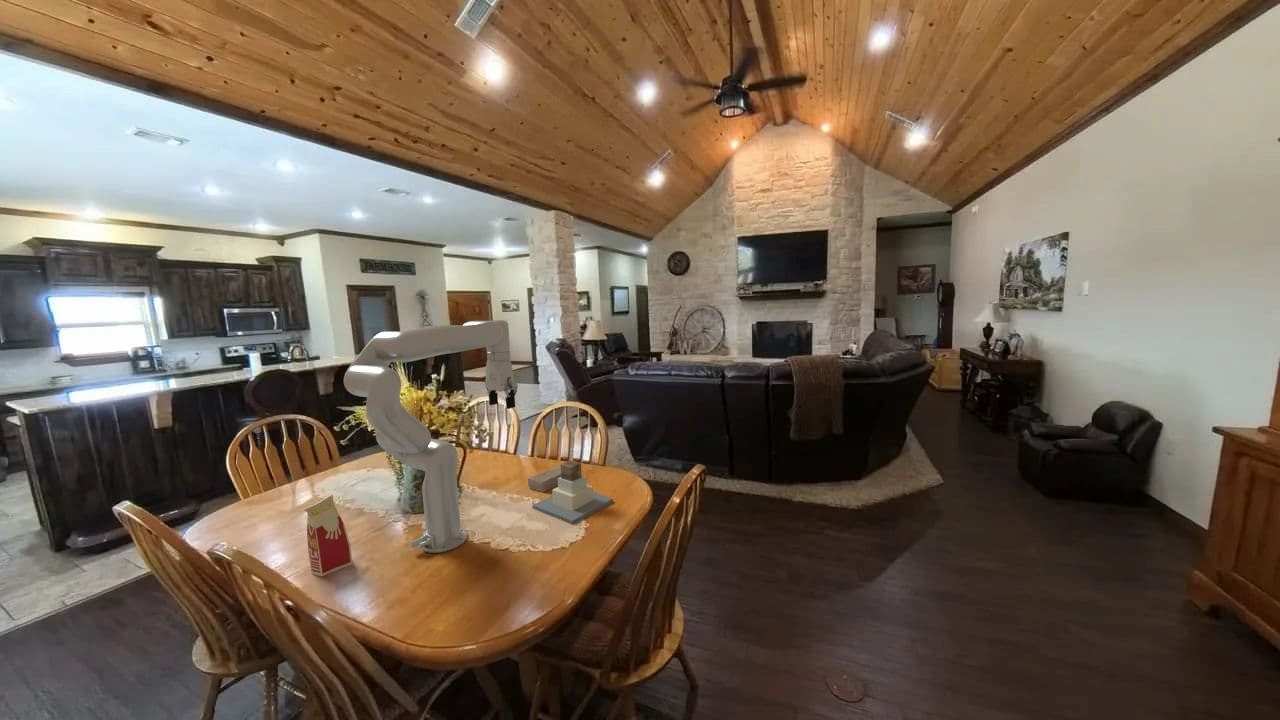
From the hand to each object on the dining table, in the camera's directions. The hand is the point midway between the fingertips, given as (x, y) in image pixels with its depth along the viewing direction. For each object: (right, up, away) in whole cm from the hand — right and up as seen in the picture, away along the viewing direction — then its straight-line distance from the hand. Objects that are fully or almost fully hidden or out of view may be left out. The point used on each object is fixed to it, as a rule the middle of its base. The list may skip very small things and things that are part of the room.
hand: (502, 406), depth 154 cm
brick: (+12, -34, +24) cm, 43 cm away
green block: (+24, -29, +4) cm, 38 cm away
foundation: (+24, -35, +5) cm, 43 cm away
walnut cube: (+23, -25, +3) cm, 35 cm away
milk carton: (-39, -42, -29) cm, 64 cm away
